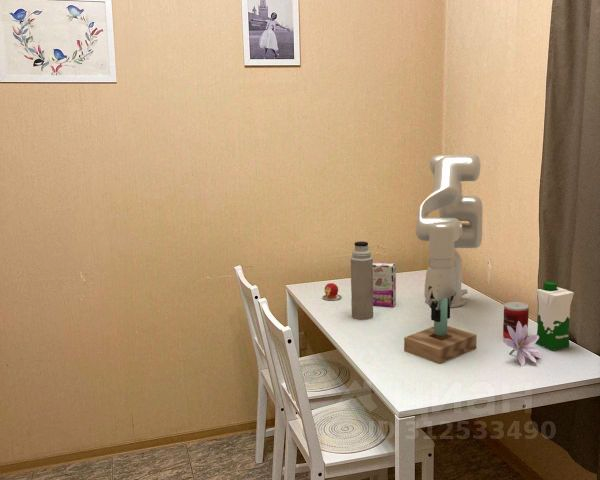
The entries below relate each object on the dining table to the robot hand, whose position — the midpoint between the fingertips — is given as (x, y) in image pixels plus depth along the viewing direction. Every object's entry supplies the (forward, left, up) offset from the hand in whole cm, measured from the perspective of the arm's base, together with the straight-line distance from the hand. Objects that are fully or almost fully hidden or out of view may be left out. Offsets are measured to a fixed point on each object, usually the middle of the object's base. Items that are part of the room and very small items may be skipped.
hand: (440, 318), depth 195 cm
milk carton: (-28, +22, -10) cm, 37 cm away
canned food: (-26, +10, -10) cm, 30 cm away
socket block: (0, 0, -10) cm, 10 cm away
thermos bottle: (-5, -40, -10) cm, 42 cm away
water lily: (-11, +22, -11) cm, 27 cm away
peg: (0, 0, -5) cm, 5 cm away
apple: (-12, -65, -11) cm, 67 cm away
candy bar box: (-20, -45, -10) cm, 50 cm away
